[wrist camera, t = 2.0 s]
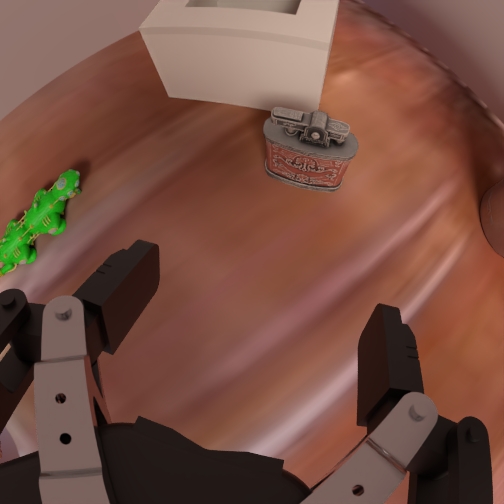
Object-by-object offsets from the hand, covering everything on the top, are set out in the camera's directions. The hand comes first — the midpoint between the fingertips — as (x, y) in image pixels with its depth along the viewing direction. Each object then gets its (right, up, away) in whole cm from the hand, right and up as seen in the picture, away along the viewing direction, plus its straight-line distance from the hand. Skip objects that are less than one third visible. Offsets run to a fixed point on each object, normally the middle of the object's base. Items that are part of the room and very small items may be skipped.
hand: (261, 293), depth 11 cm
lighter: (+5, +9, +21) cm, 24 cm away
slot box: (0, +27, +25) cm, 37 cm away
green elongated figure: (-26, +4, +22) cm, 35 cm away
